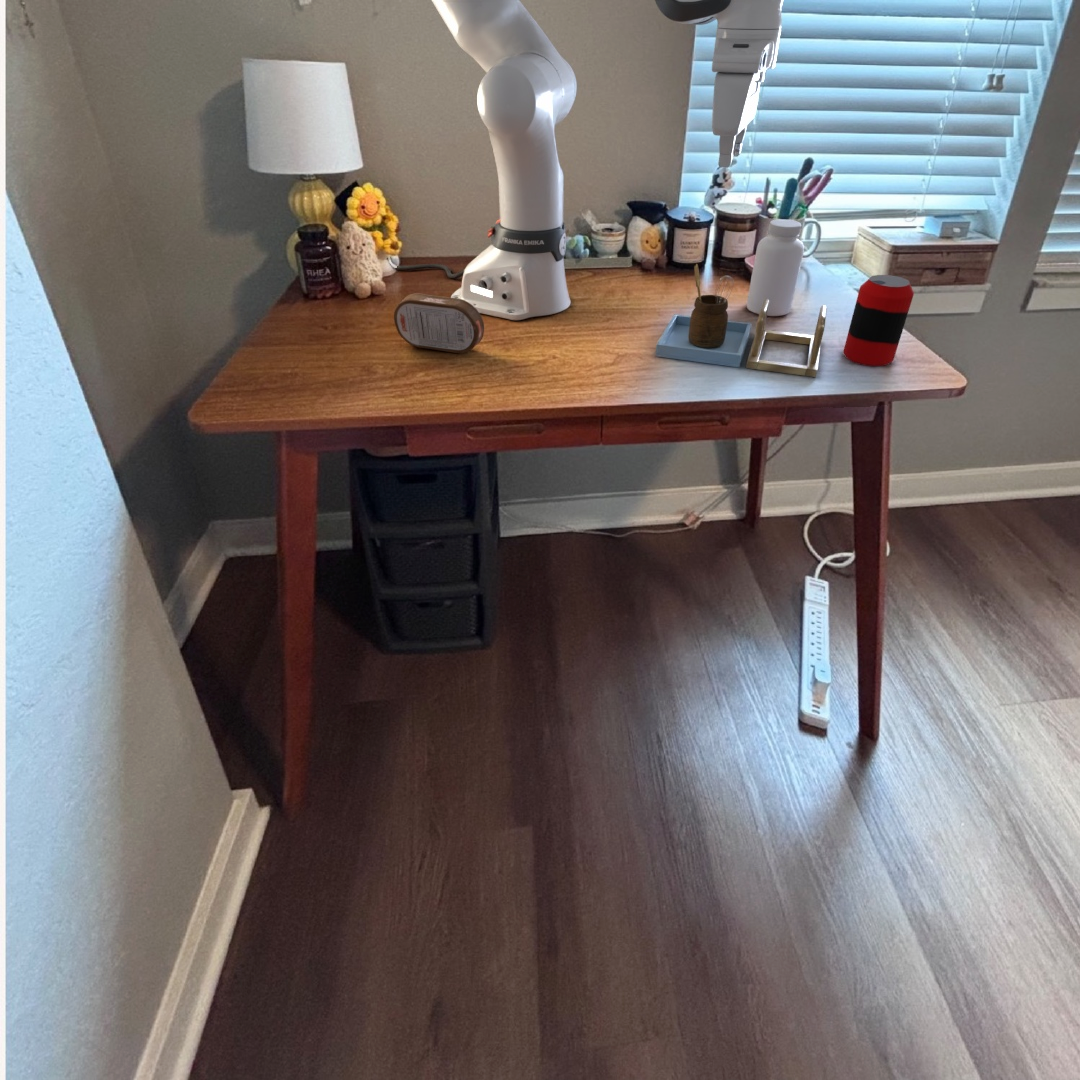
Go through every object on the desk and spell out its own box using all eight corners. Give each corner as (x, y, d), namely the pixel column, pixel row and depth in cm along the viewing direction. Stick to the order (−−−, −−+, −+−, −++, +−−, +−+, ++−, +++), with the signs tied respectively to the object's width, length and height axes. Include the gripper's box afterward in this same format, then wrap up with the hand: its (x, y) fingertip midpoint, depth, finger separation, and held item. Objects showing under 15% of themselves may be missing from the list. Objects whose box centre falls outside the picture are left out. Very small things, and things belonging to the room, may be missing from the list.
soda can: (832, 352, 116) (851, 276, 109) (868, 344, 119) (889, 270, 111) (867, 370, 111) (889, 291, 103) (904, 361, 113) (928, 284, 106)
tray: (655, 356, 115) (656, 344, 114) (672, 325, 126) (674, 314, 125) (739, 367, 112) (741, 355, 110) (749, 334, 122) (751, 323, 121)
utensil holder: (719, 351, 115) (731, 275, 108) (681, 345, 117) (690, 270, 110) (728, 338, 120) (740, 264, 112) (691, 333, 122) (700, 259, 114)
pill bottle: (792, 318, 128) (811, 229, 119) (746, 315, 129) (761, 227, 120) (789, 303, 134) (807, 218, 125) (745, 300, 136) (759, 215, 127)
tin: (486, 350, 117) (483, 299, 112) (478, 358, 115) (475, 306, 110) (403, 339, 121) (397, 289, 116) (394, 346, 119) (387, 295, 114)
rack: (745, 368, 112) (753, 323, 107) (755, 335, 122) (763, 293, 118) (815, 377, 109) (826, 332, 104) (819, 343, 119) (830, 300, 115)
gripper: (733, 48, 111) (720, 148, 120) (710, 57, 96) (696, 171, 105) (775, 49, 110) (758, 151, 118) (758, 58, 94) (740, 175, 103)
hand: (729, 161), depth 111 cm, fingers open, 8 cm apart
